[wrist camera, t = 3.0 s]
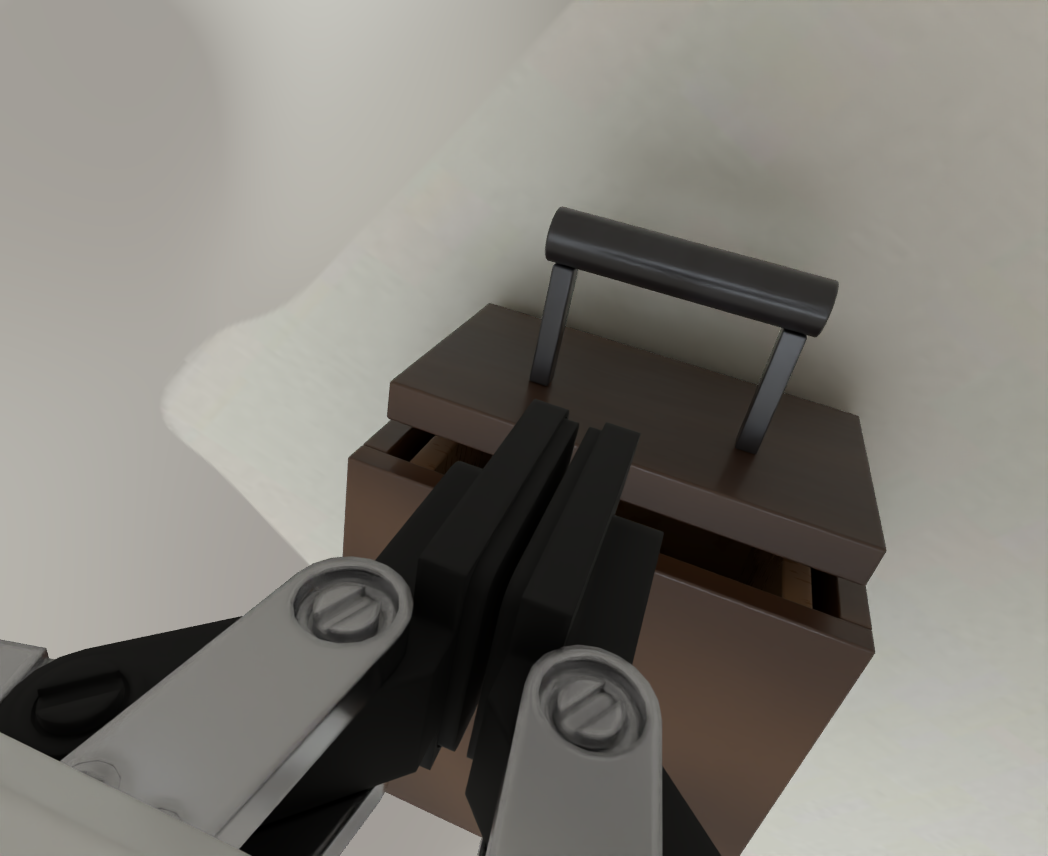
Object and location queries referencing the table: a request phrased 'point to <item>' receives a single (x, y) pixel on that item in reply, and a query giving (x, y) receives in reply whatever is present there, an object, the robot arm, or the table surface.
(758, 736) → the cabinet
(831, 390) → the table surface
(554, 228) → the drawer
